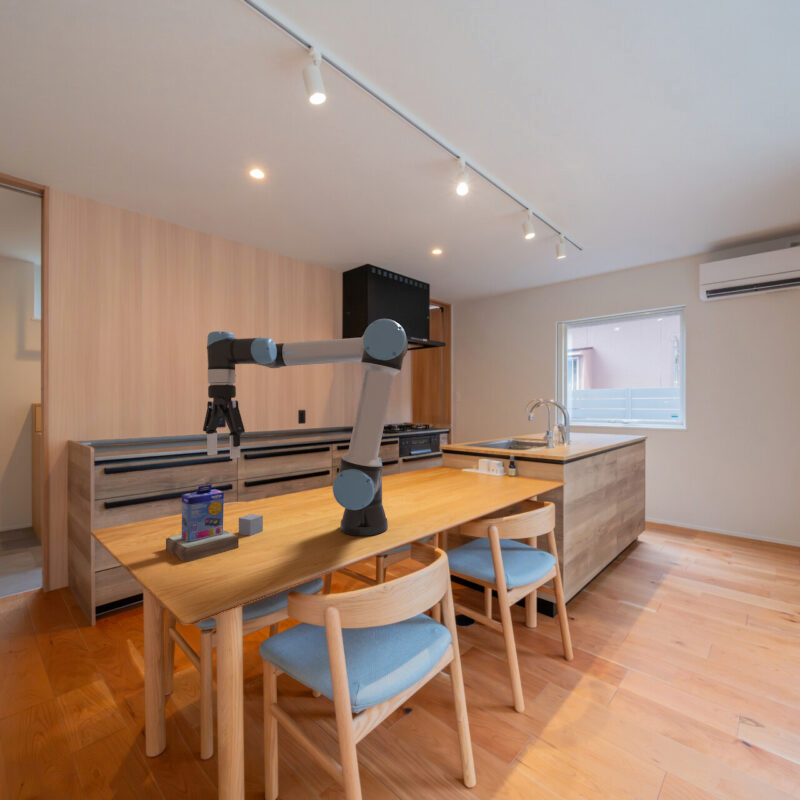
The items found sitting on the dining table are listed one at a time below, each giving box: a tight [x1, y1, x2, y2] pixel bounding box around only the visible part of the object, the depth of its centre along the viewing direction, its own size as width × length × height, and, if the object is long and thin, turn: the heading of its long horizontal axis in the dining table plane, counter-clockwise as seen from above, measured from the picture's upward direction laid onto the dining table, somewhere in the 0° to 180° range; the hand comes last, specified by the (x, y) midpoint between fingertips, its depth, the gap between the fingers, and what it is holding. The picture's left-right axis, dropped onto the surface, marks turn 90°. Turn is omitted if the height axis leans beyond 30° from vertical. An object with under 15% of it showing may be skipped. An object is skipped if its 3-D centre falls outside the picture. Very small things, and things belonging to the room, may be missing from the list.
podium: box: [165, 529, 240, 563], centre depth 114 cm, size 14×14×3 cm
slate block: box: [238, 513, 264, 537], centre depth 128 cm, size 5×5×5 cm
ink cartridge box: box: [181, 484, 225, 542], centre depth 114 cm, size 10×6×14 cm, turn 138°
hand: (223, 456), depth 121 cm, fingers open, 13 cm apart
